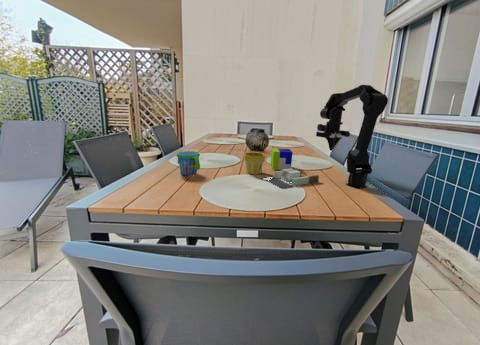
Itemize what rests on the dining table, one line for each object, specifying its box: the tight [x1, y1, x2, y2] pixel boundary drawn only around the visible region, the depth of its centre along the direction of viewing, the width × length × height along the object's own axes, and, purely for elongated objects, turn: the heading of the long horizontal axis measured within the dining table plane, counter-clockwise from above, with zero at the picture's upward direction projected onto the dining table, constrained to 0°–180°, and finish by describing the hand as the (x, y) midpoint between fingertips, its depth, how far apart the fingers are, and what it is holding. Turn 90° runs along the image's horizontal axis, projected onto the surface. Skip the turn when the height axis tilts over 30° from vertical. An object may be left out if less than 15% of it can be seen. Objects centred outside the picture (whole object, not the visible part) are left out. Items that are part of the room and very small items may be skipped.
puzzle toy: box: [270, 147, 293, 171], centre depth 137 cm, size 10×10×10 cm
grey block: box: [280, 168, 301, 184], centre depth 114 cm, size 6×6×5 cm
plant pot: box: [243, 151, 266, 175], centre depth 124 cm, size 10×10×10 cm
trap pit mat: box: [266, 176, 294, 189], centre depth 111 cm, size 16×6×1 cm, turn 28°
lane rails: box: [274, 168, 320, 186], centre depth 116 cm, size 13×15×3 cm
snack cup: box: [176, 150, 201, 176], centre depth 118 cm, size 16×10×10 cm
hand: (330, 150), depth 128 cm, fingers closed
